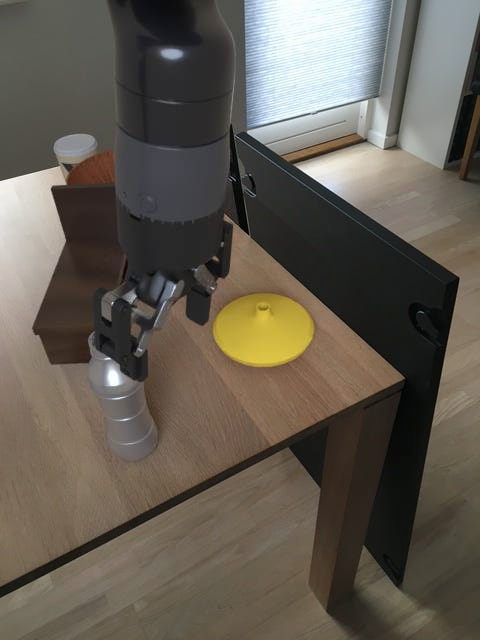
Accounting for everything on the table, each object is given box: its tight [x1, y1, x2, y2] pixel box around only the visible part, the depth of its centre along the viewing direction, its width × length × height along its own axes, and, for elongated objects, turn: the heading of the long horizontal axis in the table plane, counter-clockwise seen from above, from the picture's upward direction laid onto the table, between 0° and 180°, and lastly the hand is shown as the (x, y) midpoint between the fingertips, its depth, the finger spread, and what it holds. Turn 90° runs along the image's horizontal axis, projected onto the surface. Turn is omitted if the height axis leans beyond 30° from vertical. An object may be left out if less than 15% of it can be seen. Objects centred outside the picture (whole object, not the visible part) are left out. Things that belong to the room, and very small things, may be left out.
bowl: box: [65, 148, 115, 185], centre depth 109 cm, size 25×25×11 cm
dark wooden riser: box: [31, 183, 128, 365], centre depth 86 cm, size 24×11×18 cm, turn 1°
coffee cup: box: [53, 133, 99, 183], centre depth 120 cm, size 9×9×12 cm
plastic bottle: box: [85, 331, 159, 462], centre depth 65 cm, size 6×7×20 cm
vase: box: [212, 292, 315, 368], centre depth 83 cm, size 16×16×7 cm
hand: (167, 346), depth 48 cm, fingers open, 8 cm apart
